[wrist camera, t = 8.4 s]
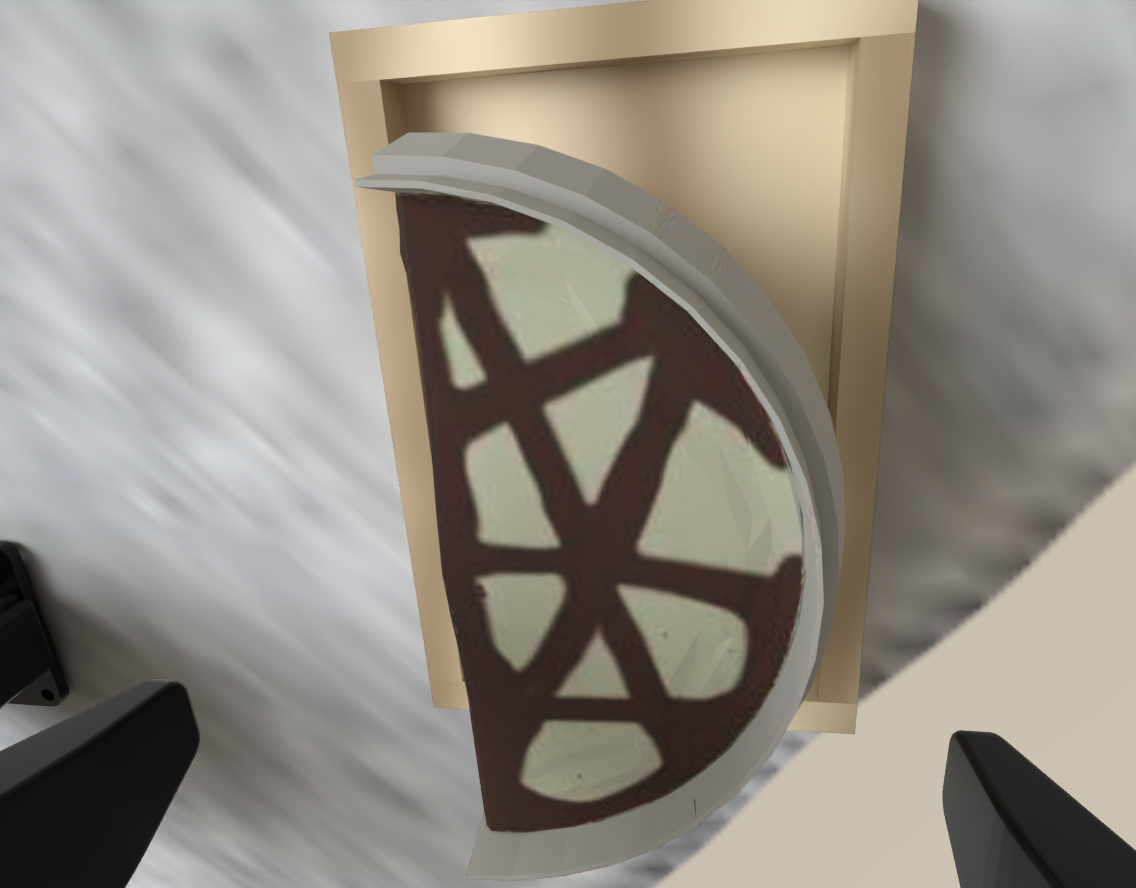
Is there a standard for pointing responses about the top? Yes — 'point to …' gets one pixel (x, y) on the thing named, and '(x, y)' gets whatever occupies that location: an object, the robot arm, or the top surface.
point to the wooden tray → (690, 185)
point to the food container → (610, 497)
